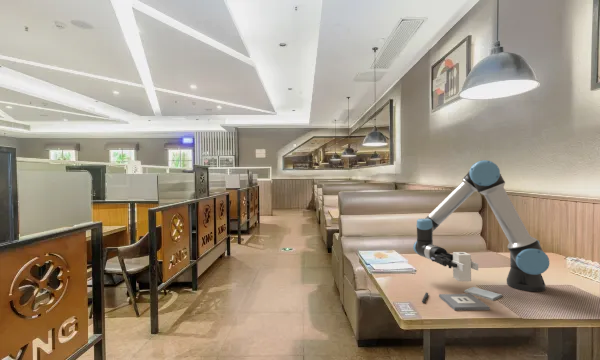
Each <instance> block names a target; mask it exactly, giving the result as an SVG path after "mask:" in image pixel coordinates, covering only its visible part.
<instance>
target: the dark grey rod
mask: <svg viewBox="0 0 600 360" xmlns="http://www.w3.org/2000/svg"><path fill="white" fill-rule="evenodd" d="M428 296H429V292H425V293H424V296H423V298H422V300H421V303H422V304H425V302H426V300H427V298H428Z"/></svg>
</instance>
